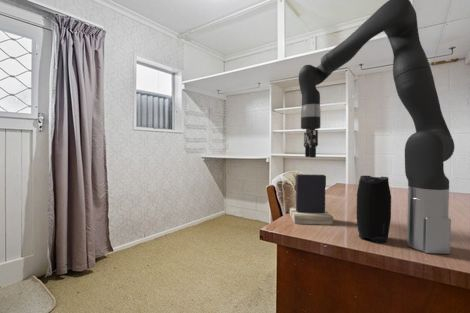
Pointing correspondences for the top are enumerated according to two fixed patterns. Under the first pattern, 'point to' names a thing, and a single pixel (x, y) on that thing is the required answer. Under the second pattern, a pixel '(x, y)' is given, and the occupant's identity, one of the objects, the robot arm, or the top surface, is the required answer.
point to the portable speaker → (373, 208)
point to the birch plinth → (311, 217)
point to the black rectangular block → (310, 193)
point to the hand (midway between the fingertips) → (310, 157)
